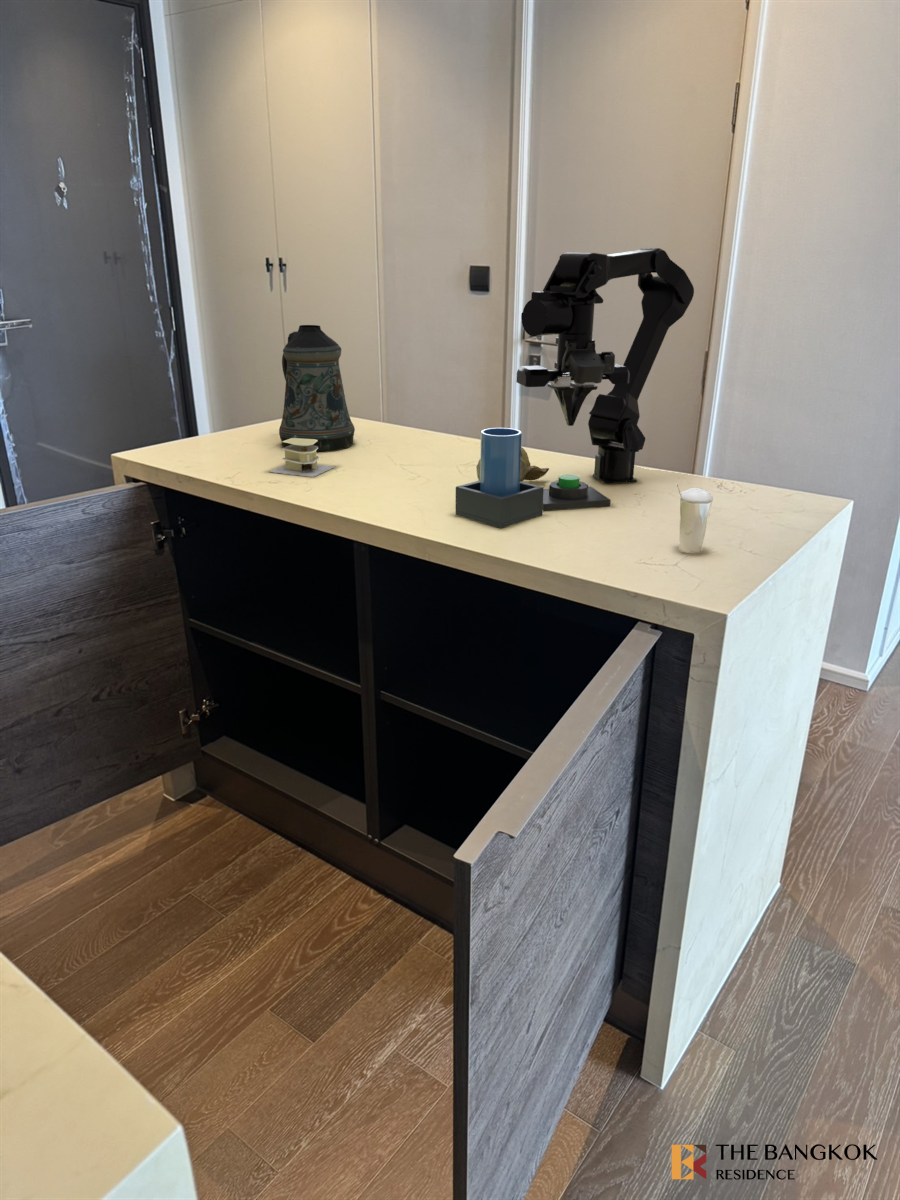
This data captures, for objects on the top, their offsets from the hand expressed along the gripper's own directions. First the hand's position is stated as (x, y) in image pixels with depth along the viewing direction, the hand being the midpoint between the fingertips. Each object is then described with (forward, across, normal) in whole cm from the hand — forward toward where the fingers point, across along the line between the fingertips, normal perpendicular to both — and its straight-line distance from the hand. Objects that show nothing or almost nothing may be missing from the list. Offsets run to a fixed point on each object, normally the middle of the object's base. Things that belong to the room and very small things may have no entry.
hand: (570, 425), depth 151 cm
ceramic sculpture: (+12, -9, +7) cm, 17 cm away
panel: (+12, -2, -6) cm, 14 cm away
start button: (+9, -2, -6) cm, 11 cm away
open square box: (+12, -16, -11) cm, 23 cm away
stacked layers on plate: (+12, -45, +27) cm, 54 cm away
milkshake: (+12, +6, -34) cm, 37 cm away
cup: (+11, -16, -11) cm, 22 cm away
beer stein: (+12, -41, +50) cm, 66 cm away
